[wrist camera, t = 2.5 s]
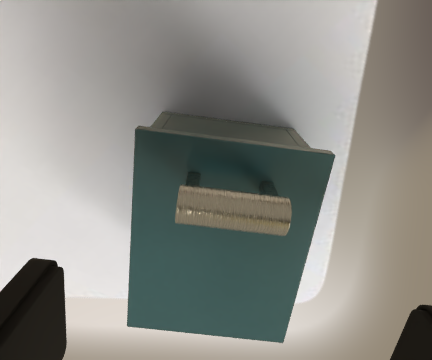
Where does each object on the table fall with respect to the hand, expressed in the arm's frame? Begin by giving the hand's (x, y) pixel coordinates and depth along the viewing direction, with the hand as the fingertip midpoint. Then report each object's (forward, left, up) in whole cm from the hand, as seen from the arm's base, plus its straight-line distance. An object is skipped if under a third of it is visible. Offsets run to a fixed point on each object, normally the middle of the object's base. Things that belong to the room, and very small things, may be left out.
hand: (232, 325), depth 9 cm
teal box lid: (+4, 0, -11) cm, 12 cm away
